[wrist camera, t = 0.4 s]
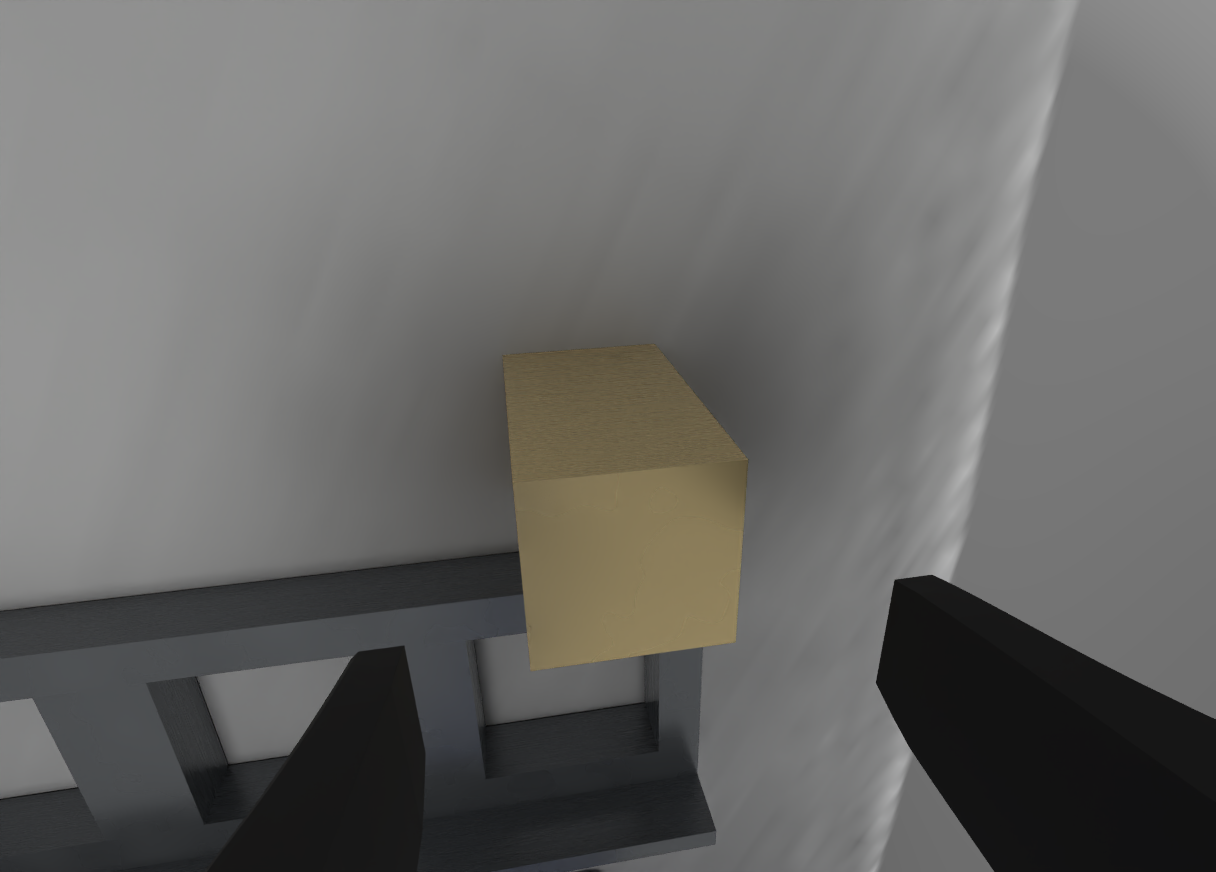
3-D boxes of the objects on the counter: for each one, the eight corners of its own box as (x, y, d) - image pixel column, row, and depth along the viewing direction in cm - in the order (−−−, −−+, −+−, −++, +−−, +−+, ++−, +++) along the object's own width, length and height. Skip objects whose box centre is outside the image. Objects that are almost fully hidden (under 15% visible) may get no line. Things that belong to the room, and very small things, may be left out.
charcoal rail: (680, 737, 24) (715, 844, 20) (-79, 857, 20) (-199, 1011, 17) (686, 533, 20) (729, 618, 17) (-233, 638, 17) (-426, 774, 13)
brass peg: (654, 477, 19) (735, 642, 13) (515, 491, 19) (530, 671, 12) (654, 343, 18) (747, 460, 11) (502, 354, 17) (512, 483, 11)
